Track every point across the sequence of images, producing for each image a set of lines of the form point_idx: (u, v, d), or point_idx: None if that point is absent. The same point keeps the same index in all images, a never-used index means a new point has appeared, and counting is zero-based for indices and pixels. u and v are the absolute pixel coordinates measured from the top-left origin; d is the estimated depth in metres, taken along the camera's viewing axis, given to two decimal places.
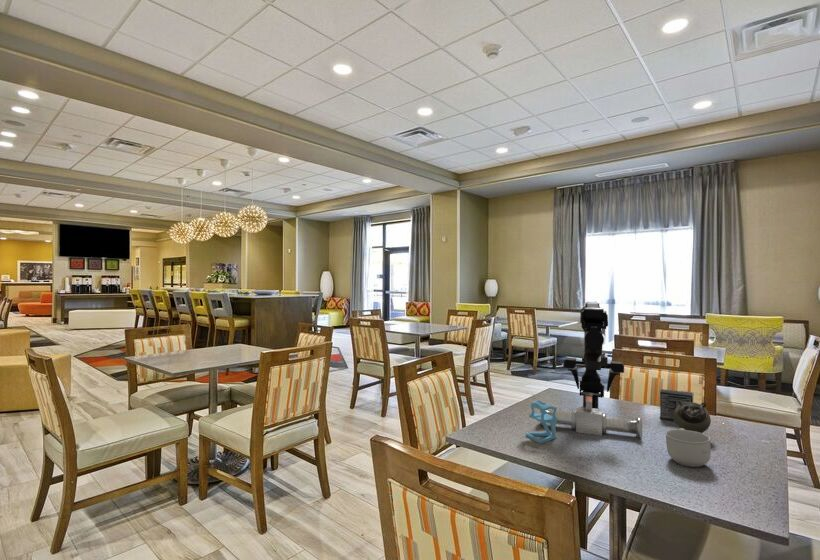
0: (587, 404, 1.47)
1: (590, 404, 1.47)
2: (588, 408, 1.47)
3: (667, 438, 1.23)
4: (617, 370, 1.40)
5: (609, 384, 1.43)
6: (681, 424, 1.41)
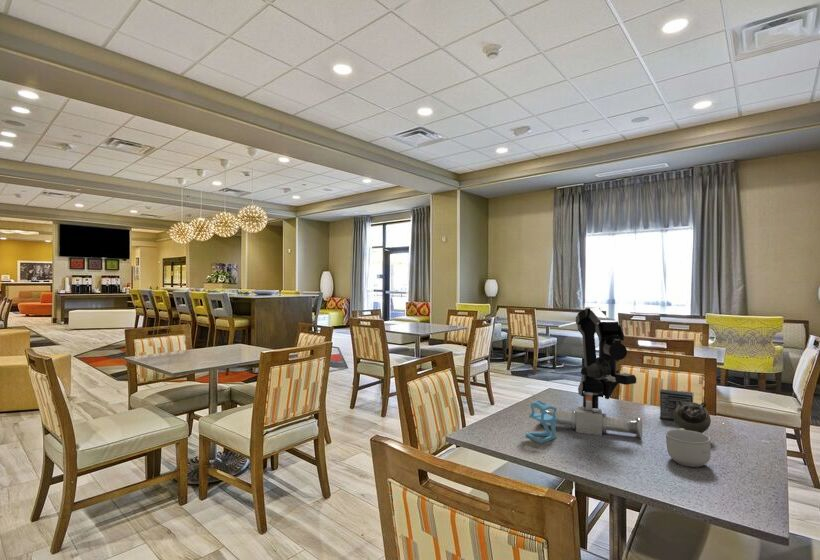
0: (587, 404, 1.47)
1: (590, 404, 1.47)
2: (588, 408, 1.47)
3: (667, 438, 1.23)
4: (620, 381, 1.44)
5: (607, 392, 1.51)
6: (681, 424, 1.41)
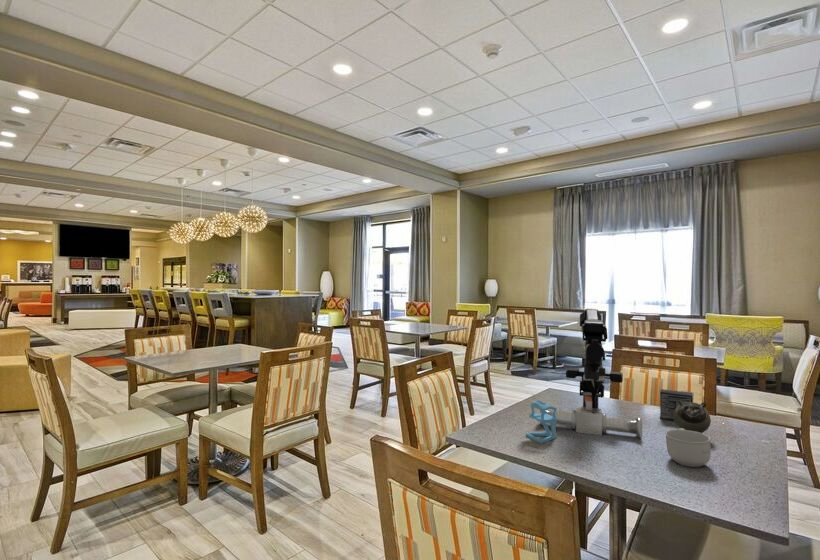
0: (587, 404, 1.47)
1: (590, 404, 1.47)
2: (588, 408, 1.47)
3: (667, 438, 1.23)
4: (615, 380, 1.49)
5: (595, 392, 1.54)
6: (681, 424, 1.41)
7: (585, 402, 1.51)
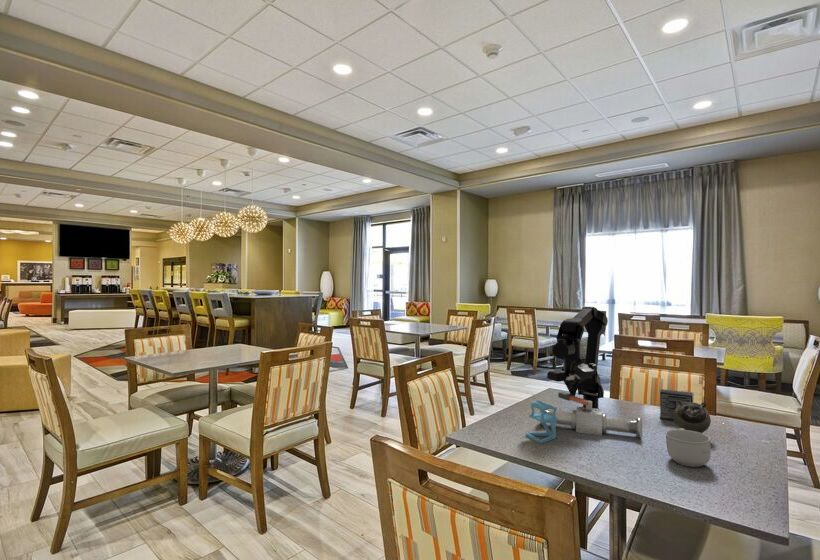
0: (589, 404, 1.47)
1: (591, 404, 1.47)
2: (590, 408, 1.47)
3: (667, 438, 1.23)
4: (594, 375, 1.57)
5: (575, 390, 1.56)
6: (681, 424, 1.41)
7: None
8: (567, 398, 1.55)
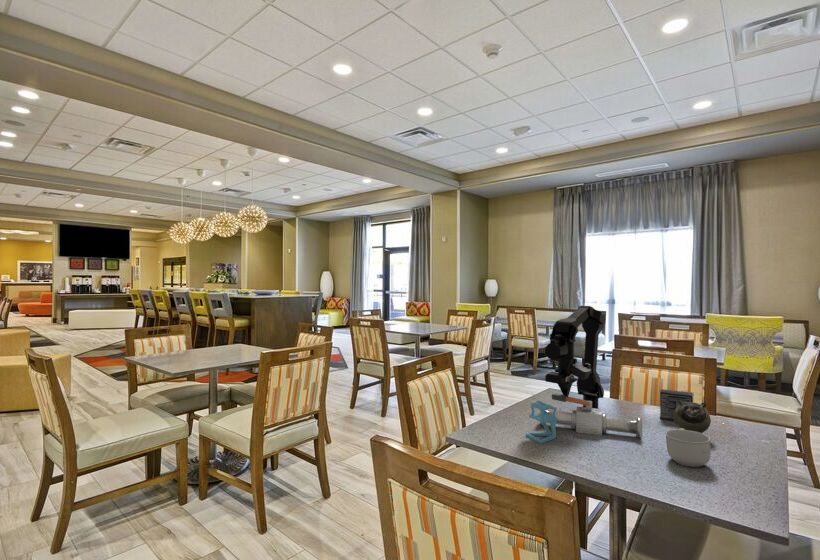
0: (590, 404, 1.47)
1: None
2: (591, 408, 1.47)
3: (667, 438, 1.23)
4: None
5: (569, 390, 1.55)
6: (681, 424, 1.41)
7: (578, 403, 1.49)
8: (563, 399, 1.53)
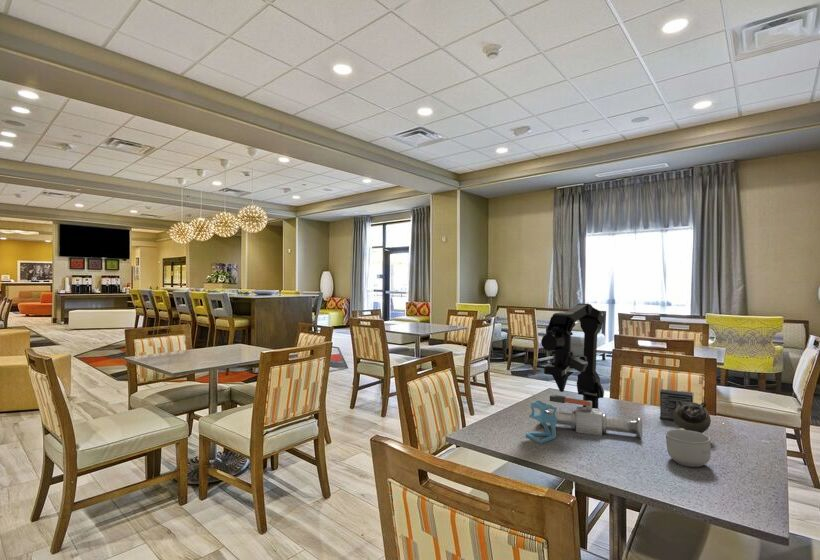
0: (591, 404, 1.47)
1: None
2: (591, 408, 1.47)
3: (667, 438, 1.23)
4: None
5: (565, 384, 1.54)
6: (681, 424, 1.41)
7: None
8: (562, 401, 1.51)
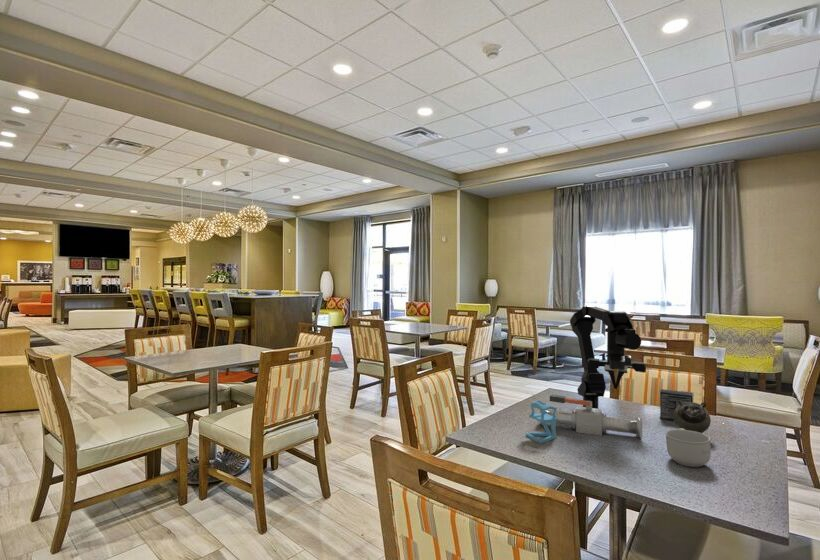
0: (591, 404, 1.47)
1: None
2: (591, 408, 1.47)
3: (667, 438, 1.23)
4: (639, 370, 1.49)
5: (617, 382, 1.53)
6: (681, 424, 1.41)
7: None
8: (562, 401, 1.51)
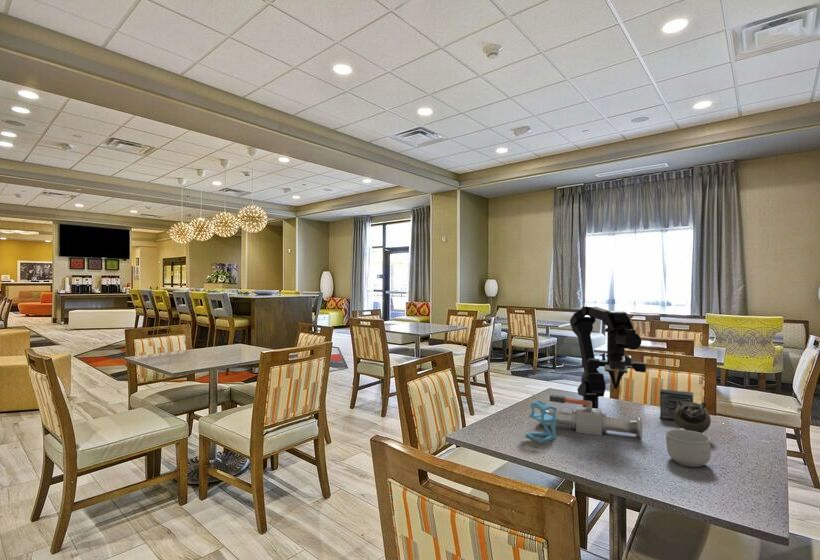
0: (591, 404, 1.47)
1: None
2: (591, 408, 1.47)
3: (667, 438, 1.23)
4: (639, 370, 1.49)
5: (618, 382, 1.53)
6: (681, 424, 1.41)
7: None
8: (562, 401, 1.51)
